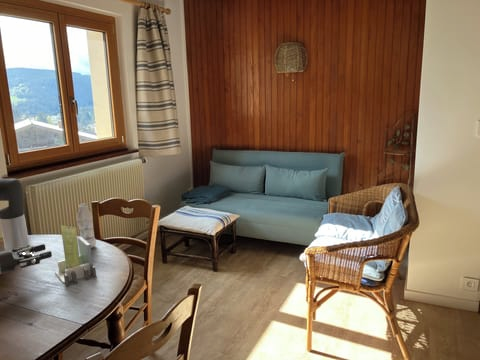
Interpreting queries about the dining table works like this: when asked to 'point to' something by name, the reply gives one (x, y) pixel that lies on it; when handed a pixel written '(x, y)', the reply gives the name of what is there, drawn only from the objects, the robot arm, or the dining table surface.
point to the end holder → (84, 262)
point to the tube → (70, 246)
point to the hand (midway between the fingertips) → (48, 250)
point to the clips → (74, 278)
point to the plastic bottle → (86, 224)
